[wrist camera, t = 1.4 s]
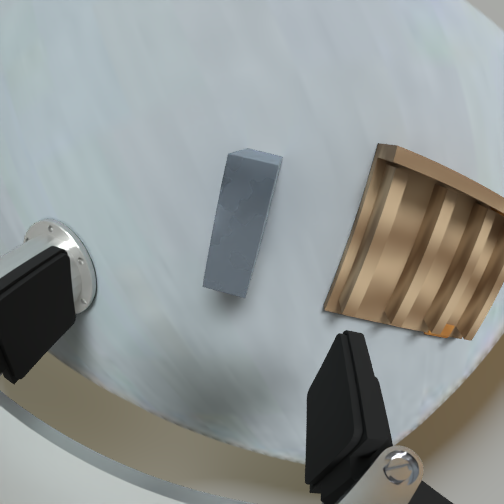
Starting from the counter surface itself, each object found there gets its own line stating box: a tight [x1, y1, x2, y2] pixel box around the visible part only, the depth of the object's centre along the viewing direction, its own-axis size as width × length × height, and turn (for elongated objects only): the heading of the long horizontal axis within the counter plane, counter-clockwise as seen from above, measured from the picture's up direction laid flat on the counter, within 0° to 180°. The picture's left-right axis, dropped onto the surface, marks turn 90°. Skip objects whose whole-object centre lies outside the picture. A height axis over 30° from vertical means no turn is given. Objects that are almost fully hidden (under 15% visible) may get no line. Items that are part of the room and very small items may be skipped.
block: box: [203, 148, 283, 298], centre depth 22 cm, size 9×3×8 cm, turn 167°
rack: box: [324, 143, 504, 340], centre depth 23 cm, size 16×18×5 cm
